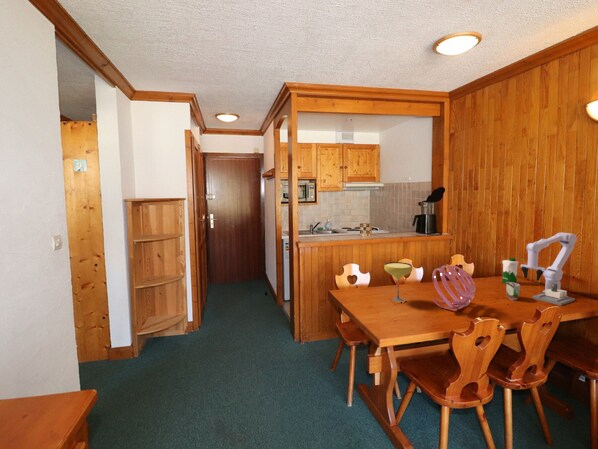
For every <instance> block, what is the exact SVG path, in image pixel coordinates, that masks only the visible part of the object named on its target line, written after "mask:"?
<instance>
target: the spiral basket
mask: <svg viewBox="0 0 598 449" xmlns="http://www.w3.org/2000/svg"><path fill="white" fill-rule="evenodd" d="M445 268H446V269H448V271H447V270H446V269H445ZM457 270H458V271H457ZM437 271H439V277H440V280H441V282H442V285H443V287H444V289H445V290H446V292H447V293H448V295H449V296H450V297H451V298H452V300H453V301H450V300H449V299H448V298H447V297H446V295H445V294H444V292H443V291H442V289H441V287H440V286H439V283H438V280H437V274H436V272H437ZM431 274H432V276H431V278H432V283H433V285H434V287H435V289H436V292H437V293H438V295H439V296H440V298H441V299H439V298H437V297H434V299H433V298H432V301H433V302H434V304H435V305H436V306H438V307H439V308H441V309H443V308H444V309H445V310H454V311H459V310H461V309H463V308H464V307H468V306H469V305H471V304H470V303H471V301H472V300H473V299H474V297H475V293H476V284H475V281H474V279H473V278H472V276H471V274H470V273H469V272H467V270H465V269H463V268H460V267H459V266H457V265H448V264H447V265H442V266H440V267H437V268H435V269H434V270H433V271H432V273H431ZM456 277H457V279H458V280H459V281H460V283H461V285H462V286H463V288H464V290H463V288H462V287H461V286H460V284H459V282H458V280H457V279H456ZM447 279H448V280H449V281H450V282H451V284H452V285H453V287H454V288H455V291H456V293H457V295H458V297H457V295H456V294H455V293H454V291H453V290H452V289H451V287H450V285H449V283H448V281H447ZM436 300H437V301H439V302H441V303H444V304H446V305H447V306H449V307H445V306H443V305H440V304H439V303H438V302H437V301H436Z"/></svg>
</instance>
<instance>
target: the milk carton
mask: <svg viewBox="0 0 598 449" xmlns="http://www.w3.org/2000/svg"><path fill="white" fill-rule="evenodd" d="M501 261H502V262H501V263H502V278H501V279H502V281H501V283H503V284H506V282H513V283H517V284H518V278H517V276H518V265H519V261H518V260H516V257H509V259H504V260H501Z"/></svg>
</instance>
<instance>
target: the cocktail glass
mask: <svg viewBox="0 0 598 449" xmlns="http://www.w3.org/2000/svg"><path fill="white" fill-rule="evenodd" d="M383 267H384V268H383V269H384V271H385V272H386V273H387V274H388V275H391V276H393V277H394V278H395V279H396V280H397V292H396V293H397V295H396V297H393V298H394V300H395V301H404V300H403V299H404V298H402V299H401V297H400V296H399V283H400V282H399V280H400V279H401V278H402V277H404V276H407V275H409V274H410V273H412V272H413V264H411V263H408V262H403V261H402V262H401V261H397V262H396V261H391V262H385V263H384V266H383Z"/></svg>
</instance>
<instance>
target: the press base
mask: <svg viewBox="0 0 598 449" xmlns="http://www.w3.org/2000/svg"><path fill="white" fill-rule="evenodd" d="M550 290H551V289H550ZM557 291H559V292H563V298H560V299H559V298H555V297H551V296H546V295H545V292H542V293H539V294H535V295H532V299H534V300H537V301H541V302H545V303H550V304H554V305H556V306H564V305H566V304H569V303H572V302H575V301H576V300H575V298H574V297H570V296H568V294H567V290H563V289H560V290H559V289H557Z"/></svg>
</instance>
